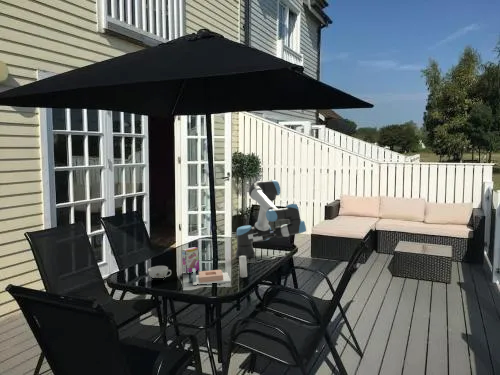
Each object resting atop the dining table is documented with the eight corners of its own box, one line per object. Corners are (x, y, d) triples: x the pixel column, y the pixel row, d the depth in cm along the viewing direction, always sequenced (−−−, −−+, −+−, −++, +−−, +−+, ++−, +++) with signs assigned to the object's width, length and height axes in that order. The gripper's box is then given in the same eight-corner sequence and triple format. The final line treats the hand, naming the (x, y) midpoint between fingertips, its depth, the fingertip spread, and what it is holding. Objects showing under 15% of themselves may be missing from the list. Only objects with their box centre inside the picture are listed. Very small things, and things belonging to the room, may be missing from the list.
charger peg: (239, 275, 274) (238, 255, 274) (246, 275, 275) (245, 255, 274) (240, 277, 270) (239, 257, 269) (247, 277, 271) (246, 256, 270)
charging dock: (192, 277, 278) (191, 266, 277) (227, 273, 281) (226, 263, 280) (193, 285, 258) (192, 274, 257) (230, 282, 261) (230, 270, 261)
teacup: (145, 283, 269) (144, 270, 269) (152, 277, 282) (151, 265, 281) (168, 282, 267) (167, 270, 267) (174, 277, 280) (173, 265, 279)
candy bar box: (186, 274, 285) (185, 250, 284) (182, 273, 288) (180, 249, 287) (200, 270, 292) (198, 247, 291) (195, 269, 296) (194, 246, 295)
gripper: (280, 234, 263) (247, 241, 266) (286, 239, 286) (255, 245, 290) (277, 222, 265) (245, 230, 268) (283, 228, 288) (253, 235, 292)
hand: (250, 238), depth 279 cm, fingers open, 13 cm apart
